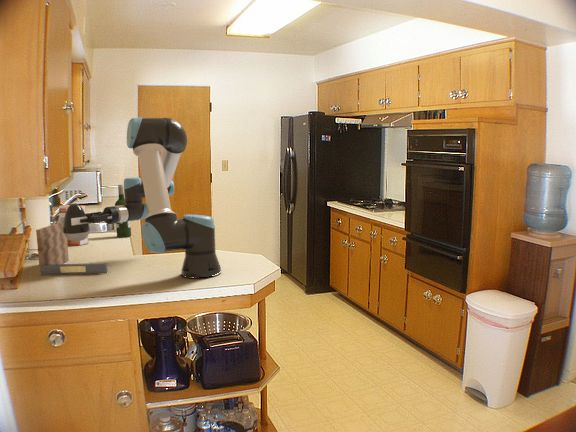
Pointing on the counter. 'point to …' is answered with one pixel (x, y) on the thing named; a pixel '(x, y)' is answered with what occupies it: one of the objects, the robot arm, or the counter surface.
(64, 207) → the cracker box
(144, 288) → the counter surface
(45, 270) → the price rail
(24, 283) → the counter surface
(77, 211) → the black rounded dome
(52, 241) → the shelf side panel
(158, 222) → the robot arm
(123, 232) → the wine bottle
